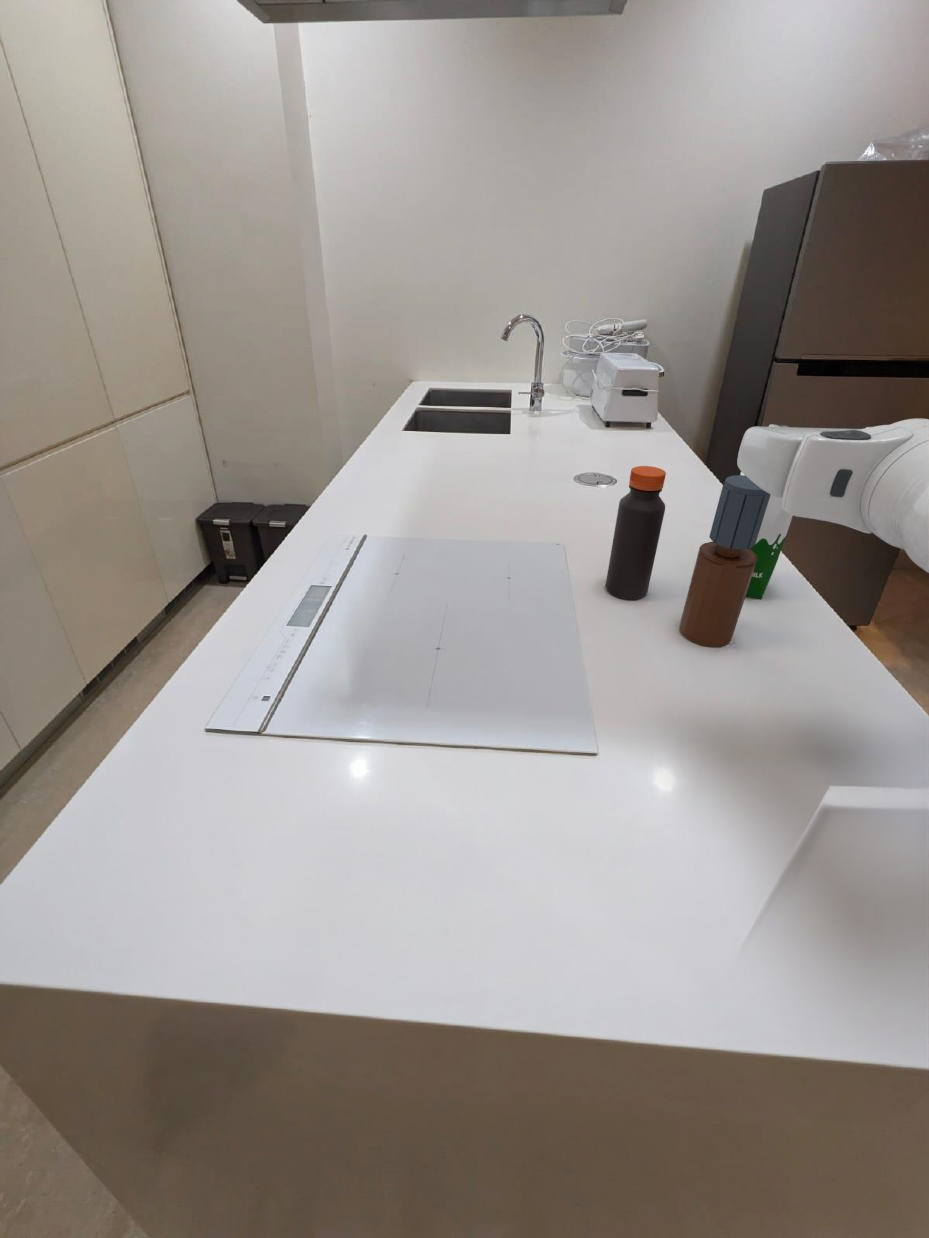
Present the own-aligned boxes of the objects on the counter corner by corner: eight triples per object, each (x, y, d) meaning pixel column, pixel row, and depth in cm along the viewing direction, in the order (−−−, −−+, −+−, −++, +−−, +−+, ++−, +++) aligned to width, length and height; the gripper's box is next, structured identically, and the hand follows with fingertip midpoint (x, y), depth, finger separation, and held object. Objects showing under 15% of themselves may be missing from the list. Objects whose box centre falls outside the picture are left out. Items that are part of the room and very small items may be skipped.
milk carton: (763, 578, 99) (801, 463, 89) (768, 603, 92) (810, 481, 81) (709, 569, 102) (740, 456, 91) (710, 593, 95) (743, 474, 84)
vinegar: (633, 605, 91) (658, 482, 80) (596, 590, 95) (615, 470, 84) (654, 590, 95) (681, 471, 84) (618, 576, 99) (639, 460, 88)
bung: (744, 532, 79) (761, 475, 75) (760, 550, 74) (779, 490, 70) (704, 531, 79) (719, 474, 75) (718, 549, 75) (734, 489, 70)
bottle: (703, 615, 89) (743, 475, 77) (742, 639, 83) (790, 493, 72) (668, 626, 86) (704, 483, 74) (706, 652, 81) (750, 502, 69)
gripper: (1064, 443, 44) (942, 403, 55) (792, 436, 44) (727, 398, 56) (1020, 521, 47) (914, 467, 59) (767, 514, 47) (711, 462, 59)
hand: (821, 433), depth 57 cm, fingers open, 8 cm apart
